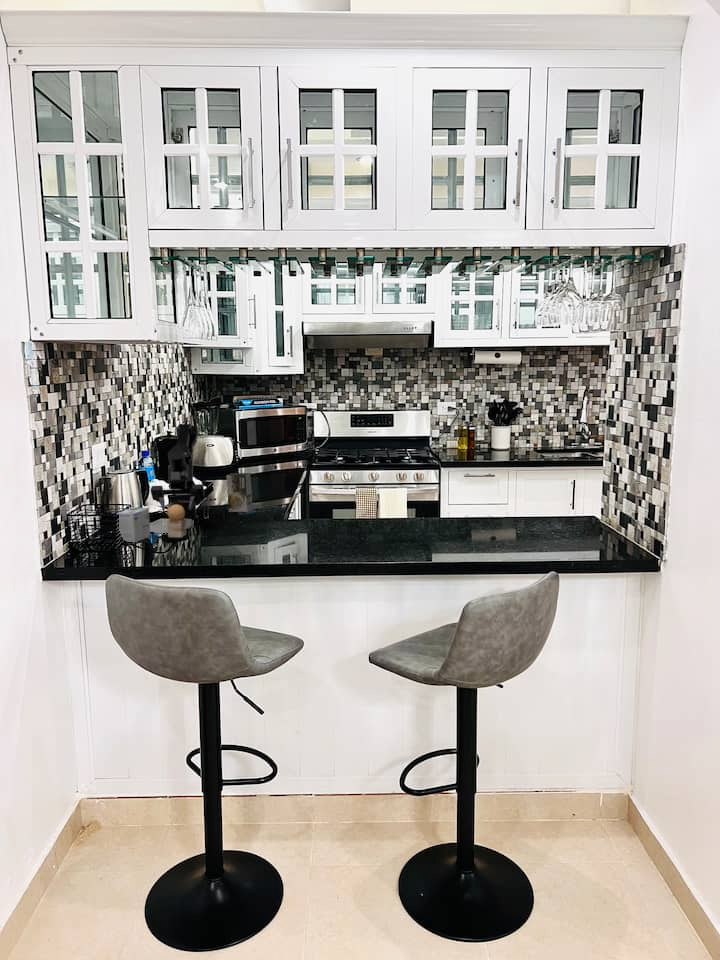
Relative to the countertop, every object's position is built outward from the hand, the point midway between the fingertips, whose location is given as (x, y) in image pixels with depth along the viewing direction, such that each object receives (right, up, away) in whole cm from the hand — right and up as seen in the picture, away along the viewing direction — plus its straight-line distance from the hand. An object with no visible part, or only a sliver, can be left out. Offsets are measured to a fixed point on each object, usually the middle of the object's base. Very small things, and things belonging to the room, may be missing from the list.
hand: (176, 510), depth 257 cm
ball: (0, -1, -1) cm, 1 cm away
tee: (0, -9, 0) cm, 9 cm away
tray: (-5, -8, +12) cm, 15 cm away
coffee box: (+15, -2, +50) cm, 52 cm away
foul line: (-6, -9, +5) cm, 12 cm away
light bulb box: (-14, -10, -5) cm, 18 cm away
